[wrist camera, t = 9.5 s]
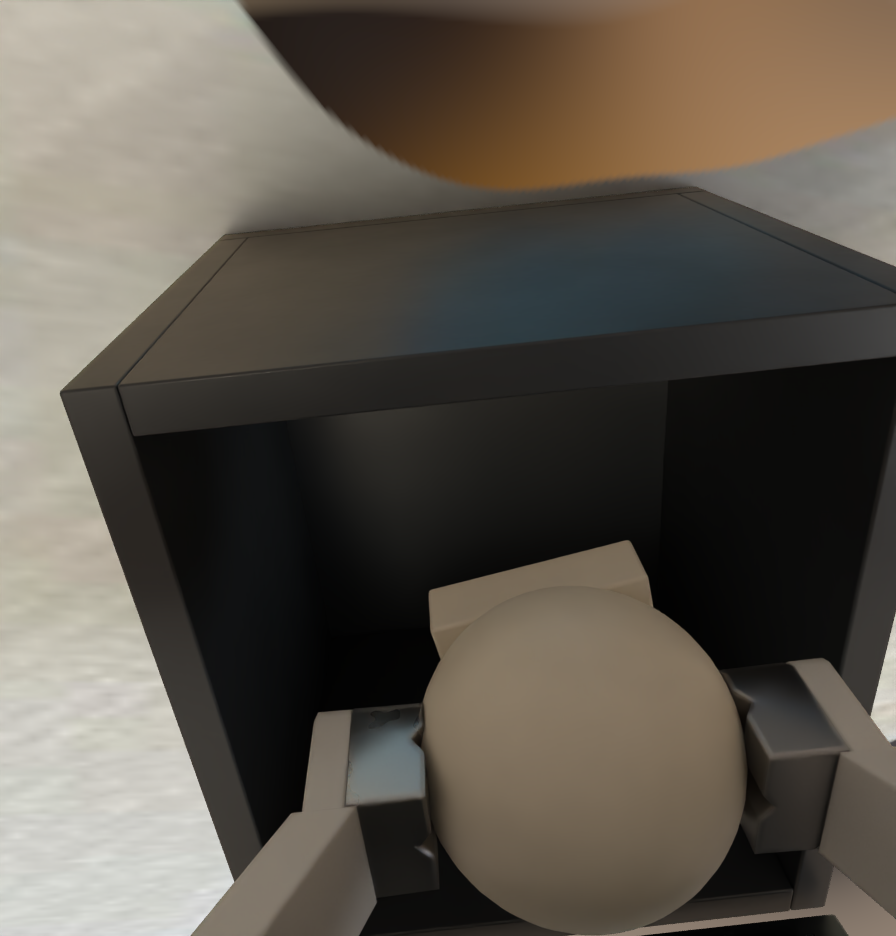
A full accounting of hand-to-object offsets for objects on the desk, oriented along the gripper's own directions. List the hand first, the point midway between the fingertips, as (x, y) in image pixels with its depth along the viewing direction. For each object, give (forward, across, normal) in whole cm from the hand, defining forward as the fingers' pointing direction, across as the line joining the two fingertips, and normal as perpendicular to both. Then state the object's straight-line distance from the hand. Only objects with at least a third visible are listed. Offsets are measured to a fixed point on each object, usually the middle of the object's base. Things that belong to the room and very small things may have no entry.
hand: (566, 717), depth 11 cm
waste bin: (+16, 0, +3) cm, 16 cm away
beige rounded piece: (+2, 0, 0) cm, 2 cm away
